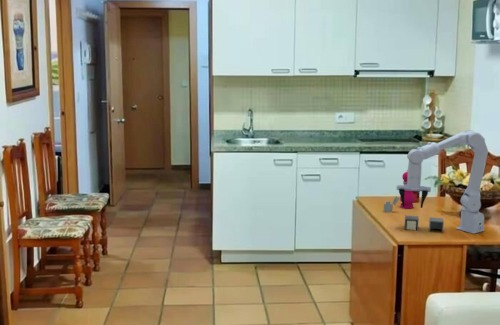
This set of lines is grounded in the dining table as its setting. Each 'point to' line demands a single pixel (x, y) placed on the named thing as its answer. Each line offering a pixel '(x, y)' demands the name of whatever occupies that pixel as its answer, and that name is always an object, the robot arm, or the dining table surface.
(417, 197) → the canned food
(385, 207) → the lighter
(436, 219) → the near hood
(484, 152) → the robot arm
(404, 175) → the pepper mill
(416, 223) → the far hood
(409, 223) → the cube
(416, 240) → the dining table surface
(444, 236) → the dining table surface
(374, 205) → the dining table surface
